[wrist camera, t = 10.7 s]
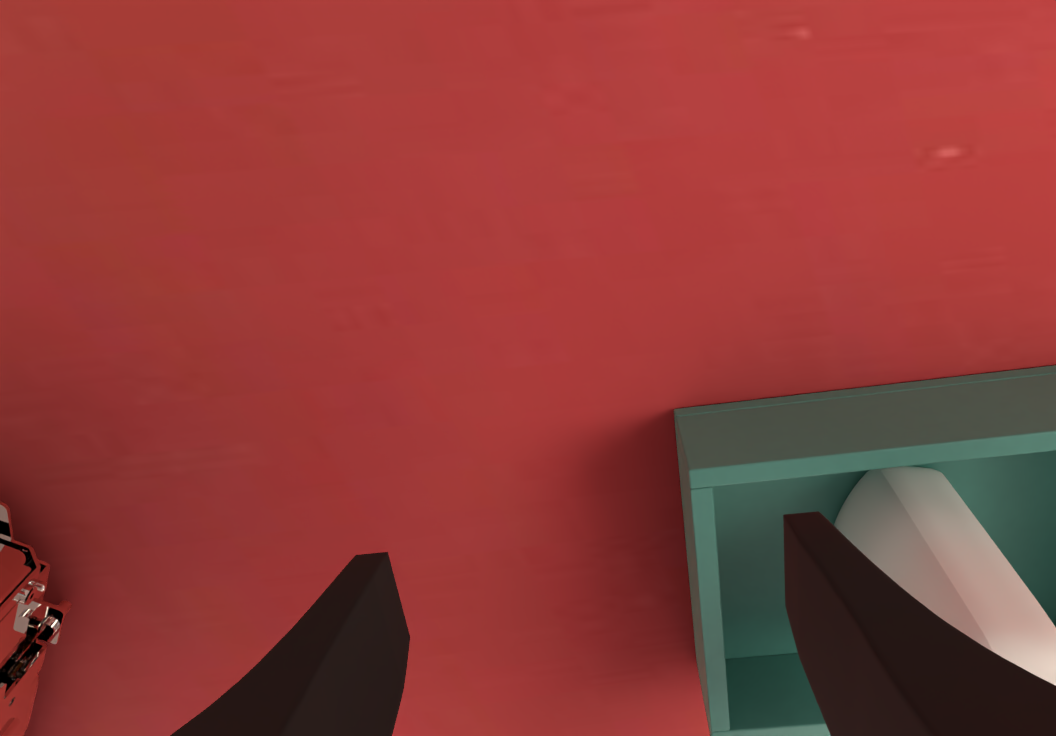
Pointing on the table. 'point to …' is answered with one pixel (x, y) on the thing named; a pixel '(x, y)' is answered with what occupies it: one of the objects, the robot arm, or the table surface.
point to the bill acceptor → (22, 627)
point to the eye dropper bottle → (948, 562)
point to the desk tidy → (823, 485)
